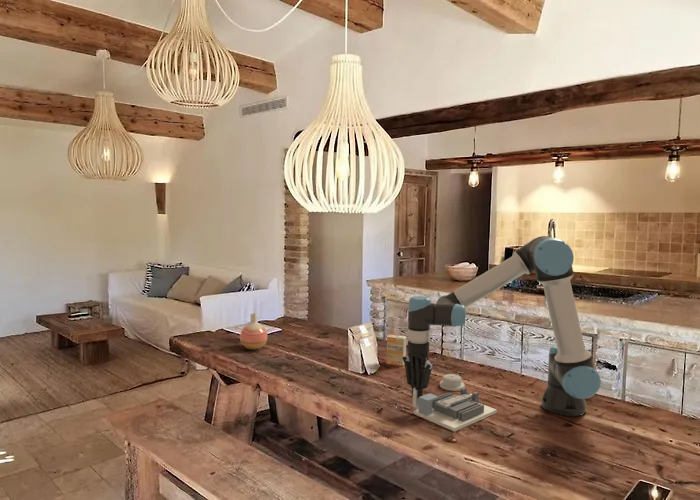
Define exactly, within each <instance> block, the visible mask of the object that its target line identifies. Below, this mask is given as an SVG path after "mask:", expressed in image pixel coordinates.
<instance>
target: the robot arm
mask: <svg viewBox="0 0 700 500" xmlns="http://www.w3.org/2000/svg"><path fill="white" fill-rule="evenodd" d="M574 259H575V258H574V252H573V250H572V248H571V246H570V245H569V244H568V243H567V242H565V241H564V240H563V239H561V238H559V237H558V238H557V237H551V236H548V235H547V236H546V235H541V236H538V237H536V238H533V239H531V240H530V241H529V242H527V243H526V244H524V245H522V246H521V247H520V248H518V249H516V250H515V251H514V252H513V254H512V256H510V257H509V258H507V259H505V260H504V261H501V263H499V264H498V263H497V265H496V266H493V267H491V268H490V269H488V270H487V271H484V273H482V274H480V275H478V276H477V277H475V278H474V279H472V280H470V281H469V282H467V283H465V284H463V285H462V286H460V287H458V288H457V289H455V290H454V291H451V292H450V293H448V294H447V295H442V296H440V297H438V299H437V301H436V303H435V302H434V303H433V302H431V298H430V297H428V296H421V295H417V296H416V295H415V296H412V297H410V298H409V301H408V309H407V310H408V314H407V317H408V318H407V320H408V321H407V325H408V326H407V327H408V328H407V340H408V341H407V351H408V352H407V354H406V356H405V357H403V361H404V363H405V364H404V369H405V375H406V377H405V378H406V383H407V385H410V388H411V397H412V407H413V408H419V397H420V396H423V390H425V389H427V388H428V386H429V383H430V378H431V375H432V370H433V368H434V367H435V364H434V363H431V362H430V360H429V355H428V354H429V352H430V342H429V341H430V329H431V326H445V327H454V328H455V327H464V326H465V324H466V315H467V314H466V313H467V311H466V309H468V307H470V306H472V305H473V304H475V303H476V302H479V301H481V300H482V299H484V298H485V297H487V296H489V295H490V294H492V293H494V292H495V291H497V290H499V289H501V288H503V287H504V286H506V285H507V284H509V283H511V282H513V281H514V280H516V279H518V278H520V277H521V276H523V275H530V274H532V273H535V278H536V280H537V281H536V282H538V283H539V284H541V285H542V286H543V290H544V295H545V299H546V305H547V309H548V314H549V317H550V322H551V327H552V332H553V336H554V341H555V344H556V345H552V346H550V348H549V352H548V367H547V369H548V371H547V385H546V388H545V389H544V393H543V395H542V396H541V404H542V405H541V406H542V409H544V408H545V409H546V410H545V409H544V410H545V411H547V410H548V411H547V412H549V411H550V412H549V413H552V412H553V413H552V414H555V413H556V414H555V415H558V414H560V415H559V416H563V415H566V416H565V417H579V416H578V415H581V414H583V413H585V412H586V413H587V404H586V400H585V399H589V398H592V397H593V396H594V395H596V394H597V393H598V391H599V390H600V388H601V385H602V380H601V376H600V374H599V372H598V370H596V368H595V365H594V360H593V355H592V352H590V351H589V350H587V348H586V347H585V343H584V338H583V334H582V329H581V324H580V320H579V314H578V310H577V307H576V306H577V305H576V301H575V296H574V292H573V291H574V290H573V288H572V283H571V280H572V278H573V277H574V275H575V274H574V268H573V263H574ZM586 413H585V414H586ZM581 416H582V415H581Z"/></svg>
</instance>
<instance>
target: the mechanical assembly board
mask: <svg viewBox="0 0 700 500" xmlns="http://www.w3.org/2000/svg"><path fill="white" fill-rule="evenodd" d="M467 390H468V389H467V387H465V388H462V389H461V390H460V395H463V394H465V393H468V392H467ZM460 395H459V394H456V393H451V392H450V391H449V392H446V393H442V394H440V395H437V396H438V397H439V398H438V399H436V400H434V401H432V414H430V415H428V416H427V415H424V414H422V413H420V412H418V408H416V409H414V410H413V415H416V416H418V417H420V418H422V419H424V420H427V421H429V422H432V423H434V424H436V425H438V426H440V427H443V428H445V429H448V430H450V431H451V432H455V433H456V432H457V431H459V430H461V429H464V428H466V427H468V426H471V425H473V424H475V423H477V422H480V421H481V420H483V419H487V418H488V417H490V416H493V415H496V414H497V412H498V411H497V409H496V408H493V407H491V406H488V405H485V404H483V403H481V402H479V395H480V394H479V392H478V391H474V392H472V399H469V400H466V401H463V402H460V403H457V404H454V405H451V407H450V408H447V409H446V408H443V407H441V406H438V405H436V404H435V402H437V401H445V400H448V399H451V398H454V397H457V396H460Z"/></svg>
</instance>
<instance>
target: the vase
mask: <svg viewBox="0 0 700 500" xmlns="http://www.w3.org/2000/svg"><path fill="white" fill-rule="evenodd" d="M239 341H240V343H241V345H242V346H243V347H244V348H246V350H249V351H250V350H251V351H252V350H253V351H255V350H259V349H261V348H262V347H264V346H265V345H266V343H267V341H268V332H267V330H266V328H265V326H263V325H262V324H261V323H259V322H258V313H255V312H253V313H250V322H248V323H247V324H246V325H245V326H244V327H243V328H242V330H241V332H240V335H239Z"/></svg>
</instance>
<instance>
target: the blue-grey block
mask: <svg viewBox="0 0 700 500" xmlns="http://www.w3.org/2000/svg"><path fill="white" fill-rule="evenodd" d="M438 396H439V395H436V394H433V393H431V392H429V393H427V394H424V395H423V394H422V396H420V397H419V406H418V407H417V409H418V412H420V413H422V414H424V415H427V416H428V415H430V414H432V401H434V400H436V399H438V398H439V397H438Z"/></svg>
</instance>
